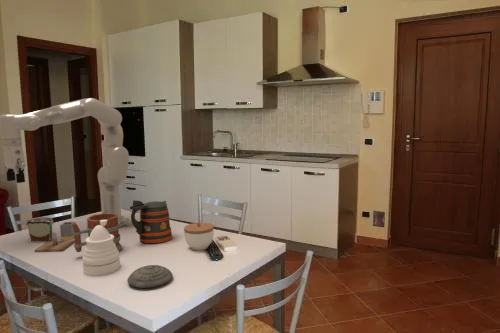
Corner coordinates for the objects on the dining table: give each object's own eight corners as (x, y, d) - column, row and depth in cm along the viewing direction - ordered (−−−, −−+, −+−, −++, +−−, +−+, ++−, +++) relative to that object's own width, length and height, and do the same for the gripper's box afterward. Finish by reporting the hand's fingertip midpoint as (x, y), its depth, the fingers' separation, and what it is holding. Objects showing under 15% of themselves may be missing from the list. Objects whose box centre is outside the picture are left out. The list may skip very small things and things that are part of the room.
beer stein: (145, 249, 163) (142, 203, 160) (124, 243, 172) (121, 199, 169) (178, 237, 178) (176, 195, 175) (158, 232, 187) (155, 192, 184)
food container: (60, 237, 182) (58, 217, 181) (52, 241, 176) (50, 220, 175) (36, 237, 183) (34, 217, 182) (27, 241, 177) (25, 220, 176)
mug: (128, 250, 163) (125, 215, 161) (82, 262, 149) (79, 225, 147) (113, 242, 172) (111, 210, 171) (68, 254, 159) (65, 219, 157)
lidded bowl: (219, 244, 167) (218, 219, 166) (204, 254, 156) (203, 227, 154) (195, 241, 173) (194, 217, 171) (178, 250, 161) (177, 224, 160)
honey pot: (108, 259, 152) (105, 215, 150) (127, 267, 144) (123, 220, 142) (76, 270, 142) (72, 223, 140) (94, 278, 134) (90, 229, 132)
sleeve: (76, 235, 184) (75, 221, 183) (72, 239, 179) (70, 224, 178) (66, 236, 184) (64, 222, 183) (61, 239, 179) (59, 225, 178)
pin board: (75, 242, 175) (74, 227, 174) (62, 251, 163) (61, 235, 162) (48, 242, 174) (47, 228, 174) (34, 252, 163) (32, 236, 162)
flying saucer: (118, 285, 129) (117, 269, 128) (151, 269, 142) (150, 255, 141) (149, 295, 121) (149, 278, 120) (181, 277, 134) (181, 262, 133)
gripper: (30, 142, 165) (33, 181, 167) (12, 141, 175) (16, 178, 177) (10, 144, 159) (15, 184, 161) (-6, 143, 169) (-2, 181, 171)
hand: (16, 181), depth 169 cm, fingers open, 9 cm apart
